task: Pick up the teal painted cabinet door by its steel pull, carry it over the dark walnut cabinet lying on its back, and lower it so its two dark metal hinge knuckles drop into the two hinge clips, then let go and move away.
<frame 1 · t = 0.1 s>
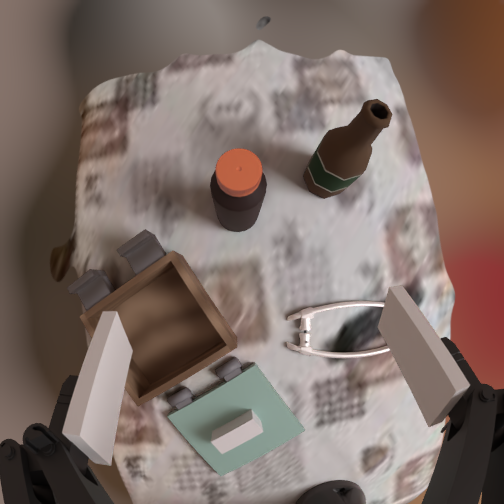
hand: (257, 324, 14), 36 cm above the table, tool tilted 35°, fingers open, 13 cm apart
door: (236, 422, 47), on the table
beer bottle: (323, 179, 53), on the table
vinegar: (237, 212, 51), on the table
cabinet: (164, 325, 48), on the table
door handle: (356, 328, 51), on the table
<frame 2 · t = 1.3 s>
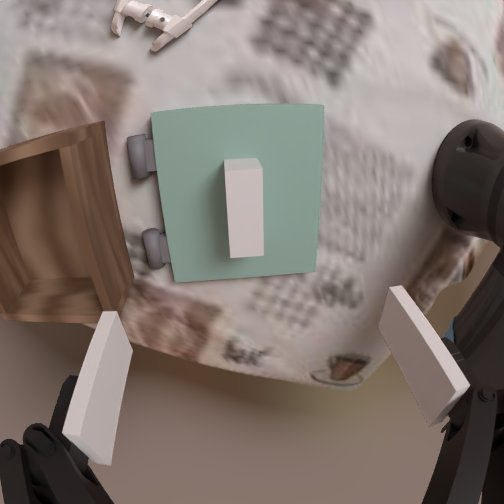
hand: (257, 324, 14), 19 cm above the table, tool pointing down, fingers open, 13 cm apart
door: (241, 193, 31), on the table
cabinet: (56, 213, 29), on the table
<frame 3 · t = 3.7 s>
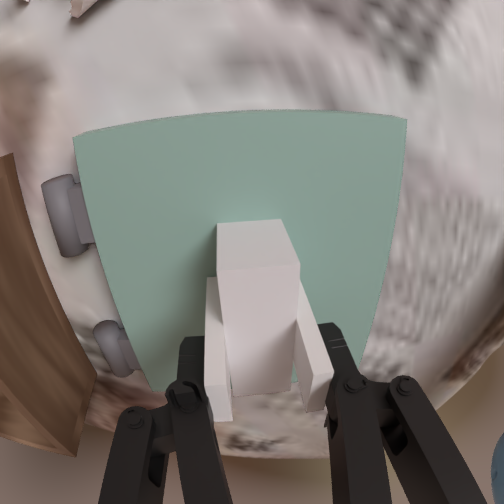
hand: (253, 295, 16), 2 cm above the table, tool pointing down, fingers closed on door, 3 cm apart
door: (249, 273, 18), on the table, touching gripper
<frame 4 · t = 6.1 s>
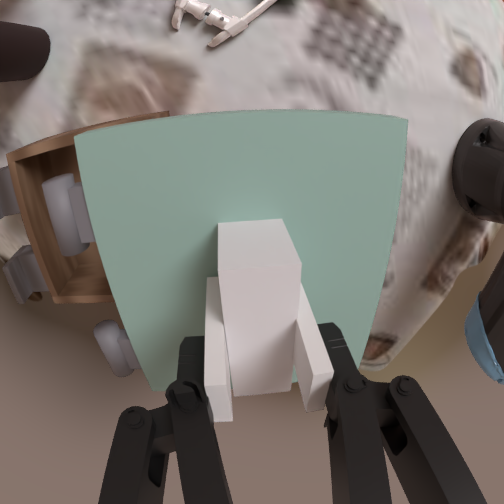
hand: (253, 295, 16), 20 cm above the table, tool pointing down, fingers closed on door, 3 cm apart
door: (250, 273, 18), point 18 cm above the table, touching gripper
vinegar: (31, 53, 23), on the table
cabinet: (113, 197, 33), on the table
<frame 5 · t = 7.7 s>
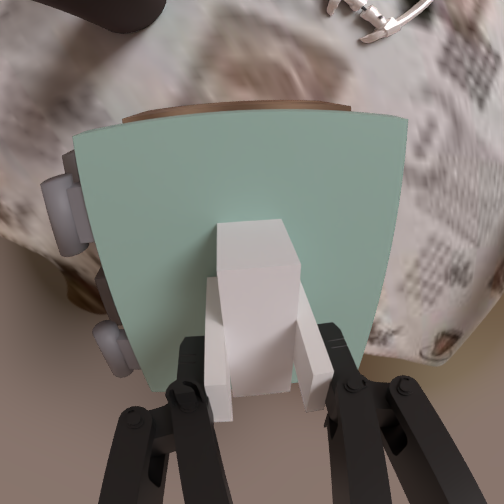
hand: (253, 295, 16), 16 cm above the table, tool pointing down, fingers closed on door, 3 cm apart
door: (249, 273, 18), point 14 cm above the table, touching gripper
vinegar: (133, 3, 20), on the table
cabinet: (238, 192, 30), on the table
when the fingers open (11 cm above the table, at t = 8.7 s): door stays where it is, resting on cabinet.
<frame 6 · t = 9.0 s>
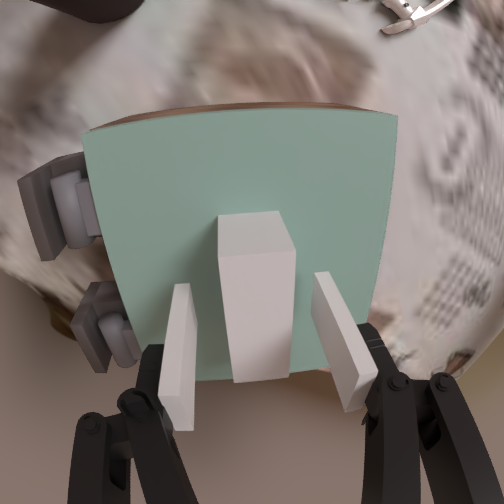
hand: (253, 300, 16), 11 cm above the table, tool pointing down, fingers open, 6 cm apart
door: (249, 264, 19), point 8 cm above the table, touching cabinet
cabinet: (239, 212, 25), on the table
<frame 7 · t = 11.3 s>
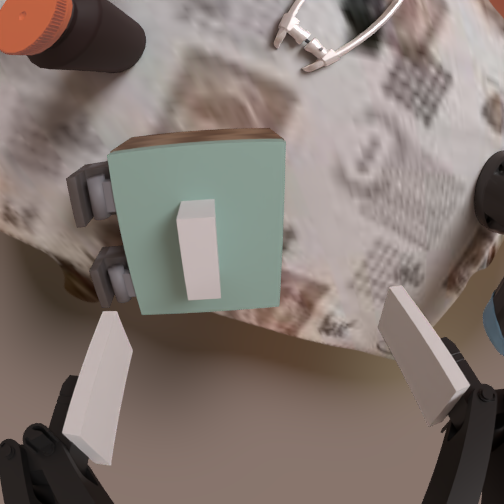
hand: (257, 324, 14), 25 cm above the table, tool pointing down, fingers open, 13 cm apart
door: (201, 232, 30), point 8 cm above the table, touching cabinet
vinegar: (119, 46, 26), on the table
cabinet: (203, 203, 37), on the table
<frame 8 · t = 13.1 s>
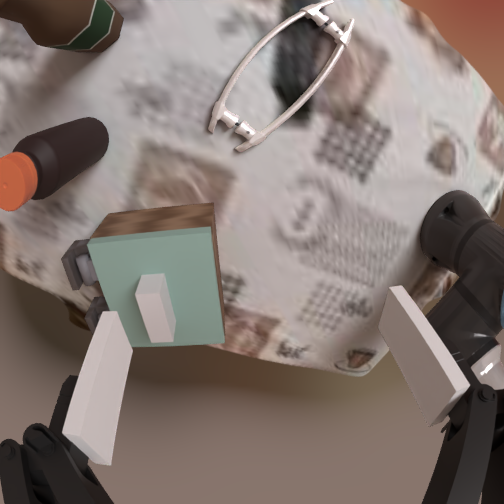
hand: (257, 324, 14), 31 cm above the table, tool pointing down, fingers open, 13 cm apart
door: (161, 292, 40), point 8 cm above the table, touching cabinet
beer bottle: (99, 29, 29), on the table
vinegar: (89, 139, 36), on the table
cabinet: (168, 261, 47), on the table
door handle: (282, 70, 35), on the table
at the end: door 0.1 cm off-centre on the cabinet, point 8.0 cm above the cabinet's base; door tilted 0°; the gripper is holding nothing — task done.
